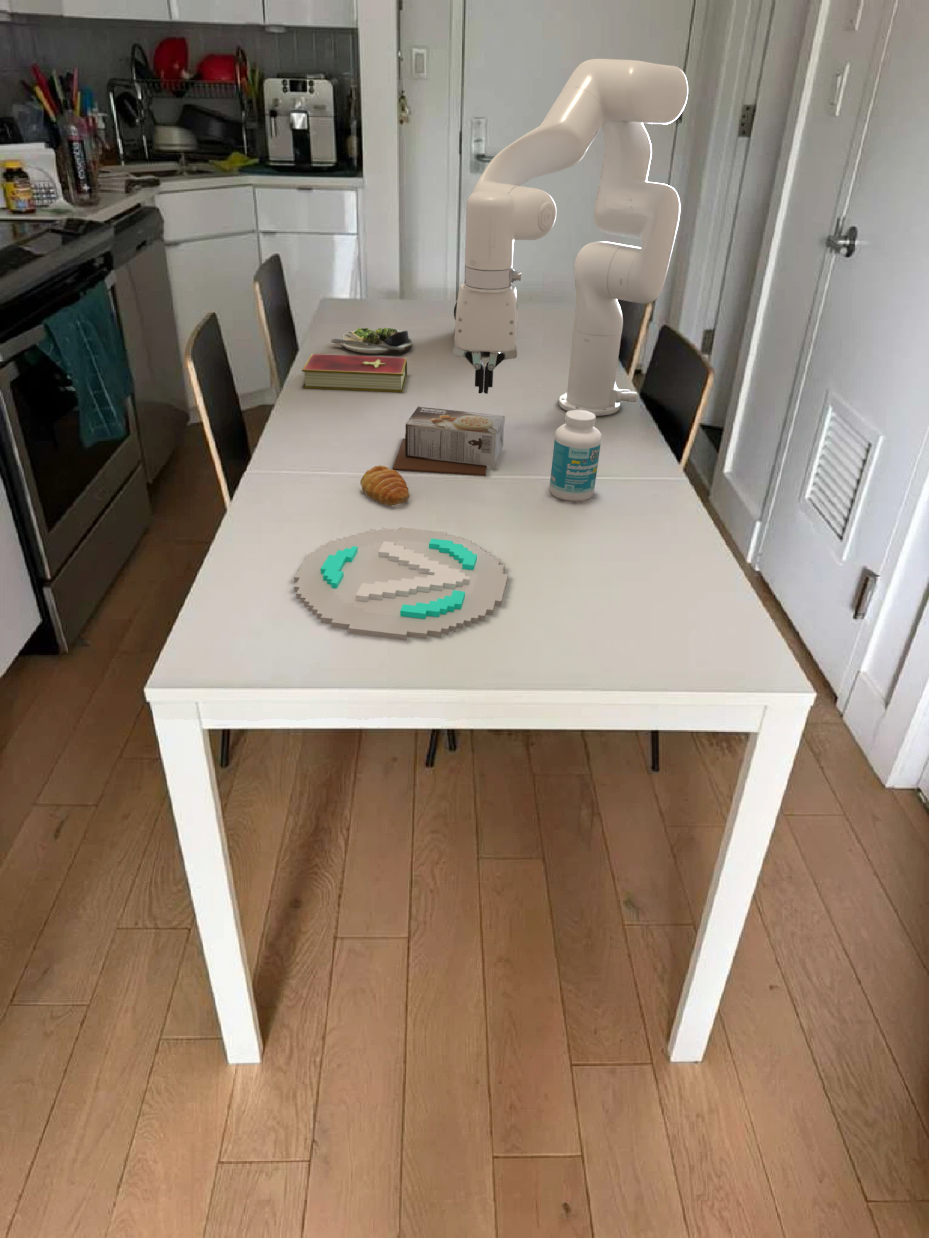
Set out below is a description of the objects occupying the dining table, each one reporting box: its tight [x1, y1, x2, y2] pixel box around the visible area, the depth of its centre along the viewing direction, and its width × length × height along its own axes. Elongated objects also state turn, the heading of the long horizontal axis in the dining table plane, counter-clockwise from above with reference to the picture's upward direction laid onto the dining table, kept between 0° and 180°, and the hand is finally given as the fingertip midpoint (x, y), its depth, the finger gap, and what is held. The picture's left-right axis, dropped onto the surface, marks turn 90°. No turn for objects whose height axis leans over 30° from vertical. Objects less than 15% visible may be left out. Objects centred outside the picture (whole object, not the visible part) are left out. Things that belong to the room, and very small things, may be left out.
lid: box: [293, 526, 509, 641], centre depth 119 cm, size 28×28×2 cm
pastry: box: [360, 465, 410, 507], centre depth 141 cm, size 9×7×4 cm
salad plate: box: [330, 327, 413, 355], centre depth 212 cm, size 19×18×5 cm
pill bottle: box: [549, 410, 602, 502], centre depth 142 cm, size 8×7×14 cm
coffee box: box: [404, 405, 506, 467], centre depth 156 cm, size 9×6×16 cm
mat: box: [391, 437, 488, 477], centre depth 157 cm, size 16×14×1 cm
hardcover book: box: [301, 353, 408, 393], centre depth 190 cm, size 12×21×4 cm, turn 89°
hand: (483, 390), depth 150 cm, fingers closed
